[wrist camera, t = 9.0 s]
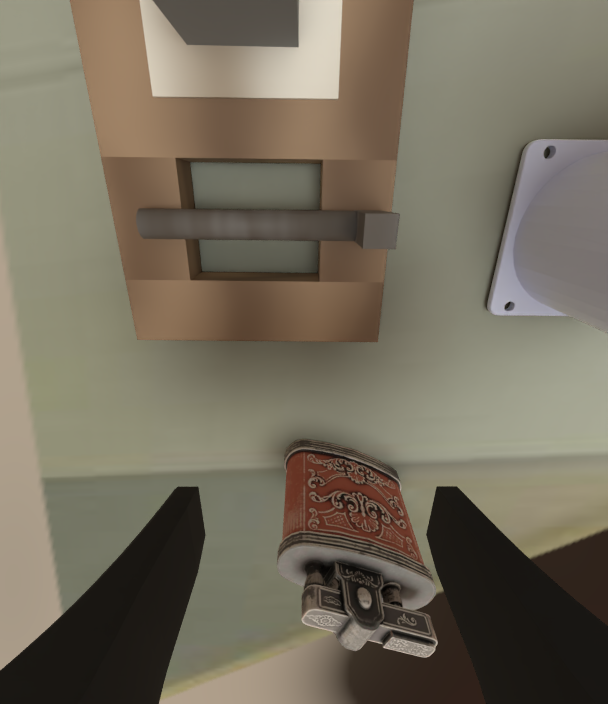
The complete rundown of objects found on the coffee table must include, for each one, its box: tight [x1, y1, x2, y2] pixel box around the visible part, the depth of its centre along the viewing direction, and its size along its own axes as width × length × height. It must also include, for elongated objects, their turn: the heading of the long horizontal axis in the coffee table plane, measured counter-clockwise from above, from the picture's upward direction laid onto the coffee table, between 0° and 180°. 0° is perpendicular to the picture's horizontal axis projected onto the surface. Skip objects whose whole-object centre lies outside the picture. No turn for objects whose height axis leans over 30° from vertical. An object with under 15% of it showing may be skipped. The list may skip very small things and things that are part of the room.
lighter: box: [277, 439, 437, 657], centre depth 19 cm, size 8×3×10 cm, turn 67°
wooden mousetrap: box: [70, 0, 414, 342], centre depth 13 cm, size 12×18×5 cm, turn 179°
